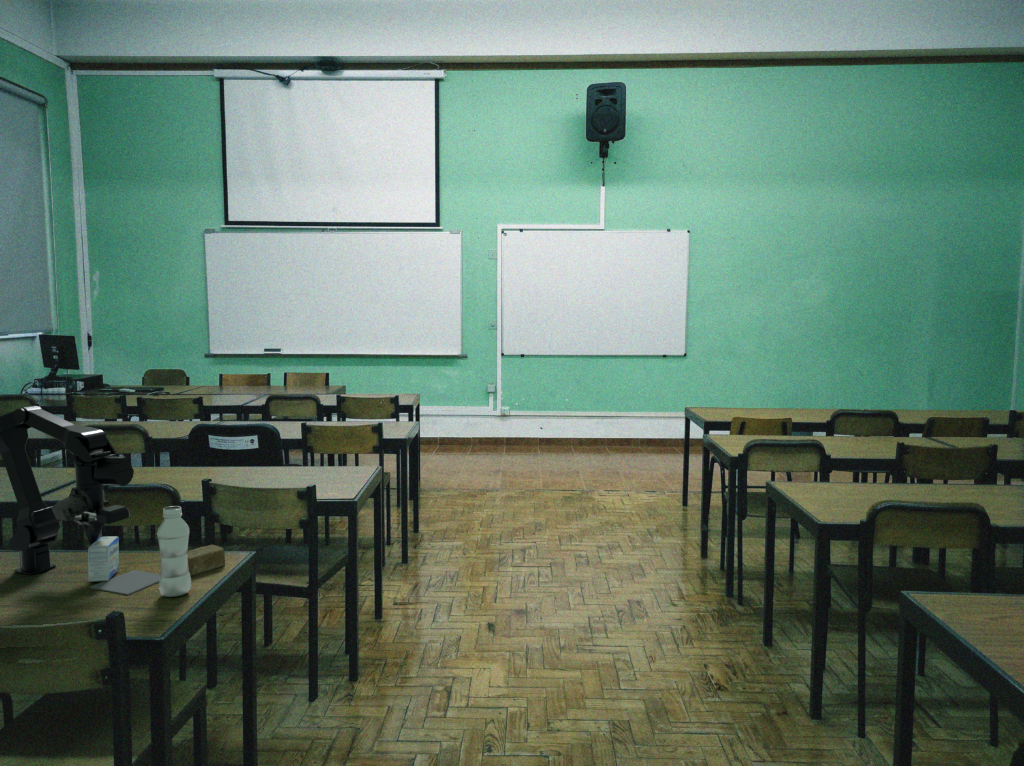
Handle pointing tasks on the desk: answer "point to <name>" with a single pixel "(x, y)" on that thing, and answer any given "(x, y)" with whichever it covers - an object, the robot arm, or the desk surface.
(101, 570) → the medicine box
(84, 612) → the desk surface
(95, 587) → the mat
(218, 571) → the desk surface
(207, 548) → the stone block
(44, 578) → the desk surface
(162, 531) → the plastic bottle
